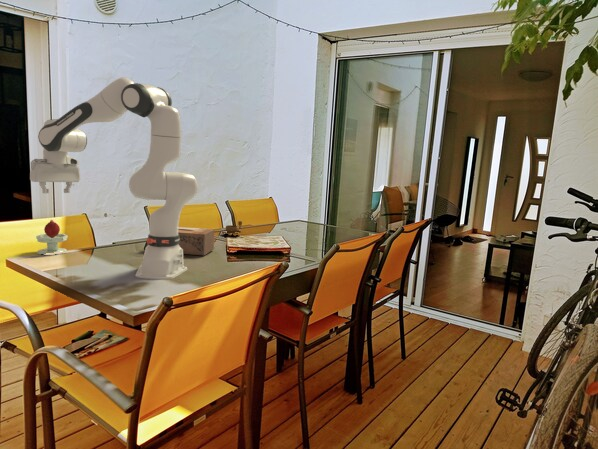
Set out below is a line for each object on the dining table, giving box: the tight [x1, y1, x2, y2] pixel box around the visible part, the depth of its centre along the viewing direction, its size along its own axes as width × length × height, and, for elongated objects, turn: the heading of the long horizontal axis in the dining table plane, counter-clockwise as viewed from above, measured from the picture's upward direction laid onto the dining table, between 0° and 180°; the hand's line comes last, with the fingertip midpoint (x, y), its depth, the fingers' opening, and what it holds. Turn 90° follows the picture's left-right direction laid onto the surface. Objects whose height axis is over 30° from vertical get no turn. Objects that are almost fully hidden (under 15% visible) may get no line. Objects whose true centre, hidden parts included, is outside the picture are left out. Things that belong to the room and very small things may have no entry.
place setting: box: [221, 220, 243, 234], centre depth 265 cm, size 18×20×6 cm
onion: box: [43, 219, 61, 238], centre depth 186 cm, size 6×6×8 cm
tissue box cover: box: [178, 226, 215, 256], centre depth 208 cm, size 26×14×10 cm, turn 84°
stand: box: [35, 233, 69, 255], centre depth 187 cm, size 11×11×8 cm
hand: (56, 193), depth 180 cm, fingers open, 8 cm apart
